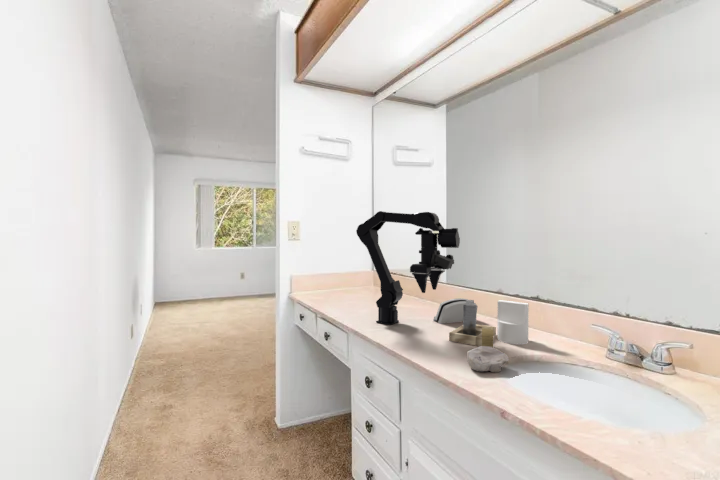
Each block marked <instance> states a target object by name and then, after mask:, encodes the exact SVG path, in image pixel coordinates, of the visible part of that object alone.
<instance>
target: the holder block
mask: <svg viewBox="0 0 720 480" xmlns="http://www.w3.org/2000/svg"><path fill="white" fill-rule="evenodd" d="M482 326H488V327H493V337H495V336H497V326H493V325H484V324H477V323H476V336H473V335H467V334H463V324H462V325H460V326H459V327H457V328H455V329H453V330H451V331H450V332H449V333H448V337H449V339H448V340H449V341H450V342H454V343H460V344H465V345H471V346H477V347H479V346H482ZM449 341H448V342H449Z"/></svg>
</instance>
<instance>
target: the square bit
mask: <svg viewBox="0 0 720 480" xmlns="http://www.w3.org/2000/svg"><path fill="white" fill-rule="evenodd" d="M488 326H489V325H486V326H482V346H489V347H493V348H494V336H493V327H494V326H493V327H488Z"/></svg>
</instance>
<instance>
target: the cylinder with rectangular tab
mask: <svg viewBox="0 0 720 480" xmlns="http://www.w3.org/2000/svg"><path fill="white" fill-rule="evenodd" d="M529 305H530V304H529V303H528V302H521V301H512V300H505V299H499V300H497V327H496V336H497V340H498V341H499V342H502V343H506V344H510V345H526V344H528V343H529V311H530V310H529V309H530V308H529V307H530V306H529Z"/></svg>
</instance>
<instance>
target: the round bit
mask: <svg viewBox="0 0 720 480" xmlns="http://www.w3.org/2000/svg"><path fill="white" fill-rule="evenodd" d="M474 303H475V300H474V299H468V300H466V304H464V305H463V322H462V325H463V334H467V335H473V336H476V324H477V315H476V309H477V310H478V307H477V306H478V305H477V304H476V305H477V306H476V305H474Z"/></svg>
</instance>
